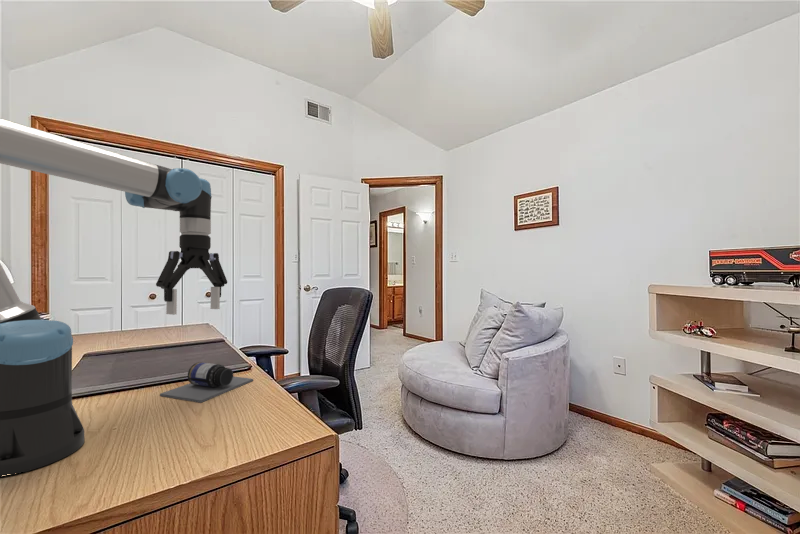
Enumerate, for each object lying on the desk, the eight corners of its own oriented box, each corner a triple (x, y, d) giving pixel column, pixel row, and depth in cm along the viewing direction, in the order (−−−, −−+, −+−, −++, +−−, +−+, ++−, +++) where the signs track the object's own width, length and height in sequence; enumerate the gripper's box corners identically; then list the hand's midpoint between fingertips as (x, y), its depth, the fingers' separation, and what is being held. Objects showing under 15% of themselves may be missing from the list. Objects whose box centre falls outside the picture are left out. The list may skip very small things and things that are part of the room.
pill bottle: (207, 376, 105) (237, 381, 101) (189, 388, 99) (220, 393, 96) (202, 357, 103) (233, 361, 100) (184, 368, 98) (215, 373, 94)
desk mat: (200, 402, 89) (200, 400, 89) (160, 396, 94) (160, 393, 94) (253, 380, 106) (253, 378, 106) (216, 376, 110) (216, 374, 110)
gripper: (221, 238, 113) (221, 306, 113) (139, 230, 90) (139, 316, 89) (240, 238, 110) (239, 307, 110) (161, 229, 87) (160, 317, 87)
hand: (194, 311), depth 100 cm, fingers open, 13 cm apart
